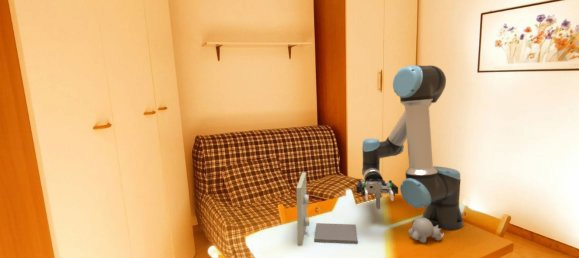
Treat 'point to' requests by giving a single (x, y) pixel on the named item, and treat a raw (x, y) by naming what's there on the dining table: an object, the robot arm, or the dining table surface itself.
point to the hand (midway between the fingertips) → (379, 196)
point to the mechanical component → (377, 190)
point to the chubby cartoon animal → (424, 230)
